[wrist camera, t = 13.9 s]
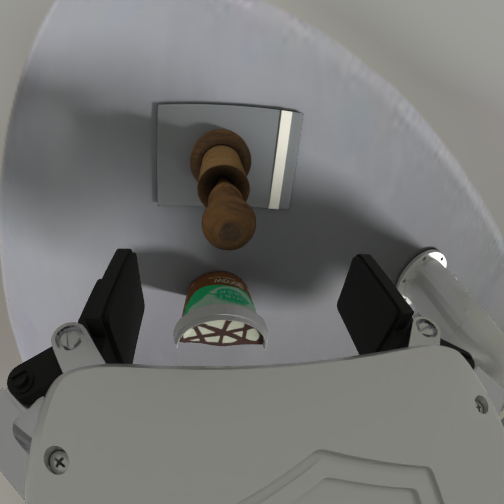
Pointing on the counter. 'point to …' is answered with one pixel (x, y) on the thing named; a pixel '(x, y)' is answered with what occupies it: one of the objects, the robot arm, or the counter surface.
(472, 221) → the counter surface
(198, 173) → the brown wooden turned post
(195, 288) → the food container
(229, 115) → the mat
